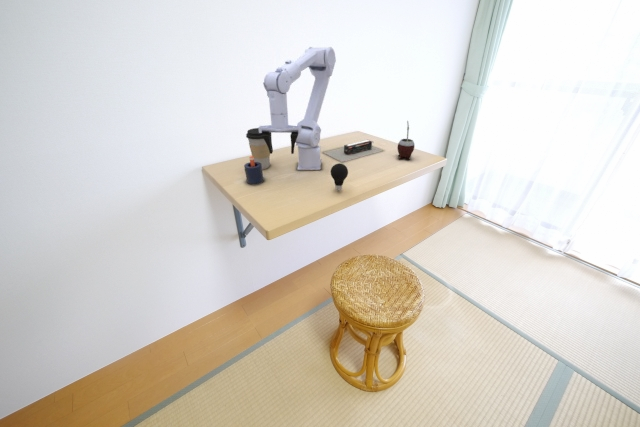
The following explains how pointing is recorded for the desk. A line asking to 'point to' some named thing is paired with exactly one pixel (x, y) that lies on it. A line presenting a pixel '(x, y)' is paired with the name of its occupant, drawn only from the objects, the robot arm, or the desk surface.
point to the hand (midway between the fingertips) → (282, 152)
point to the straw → (252, 161)
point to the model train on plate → (353, 151)
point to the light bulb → (339, 175)
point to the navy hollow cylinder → (254, 173)
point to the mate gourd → (405, 147)
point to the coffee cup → (258, 147)
